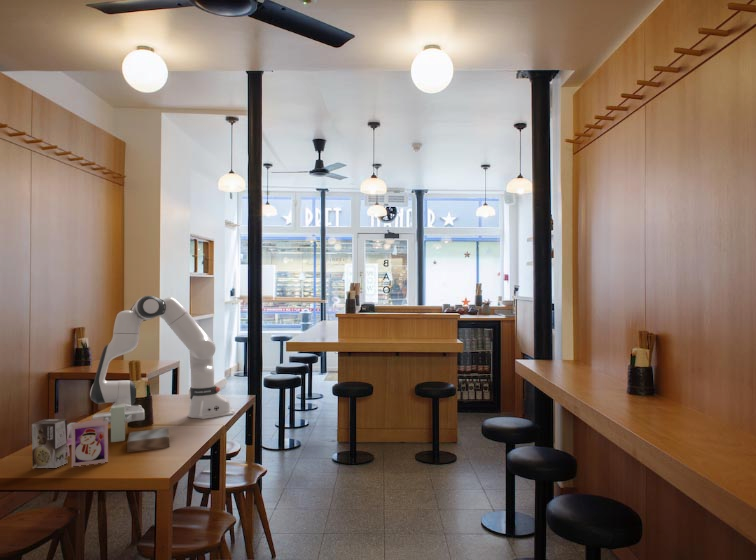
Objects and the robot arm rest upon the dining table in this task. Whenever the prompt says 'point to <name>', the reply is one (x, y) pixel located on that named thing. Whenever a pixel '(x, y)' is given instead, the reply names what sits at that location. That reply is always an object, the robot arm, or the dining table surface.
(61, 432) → the coffee box
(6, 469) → the dining table surface
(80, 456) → the greeting card
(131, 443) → the walnut plinth
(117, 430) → the sage pillar
